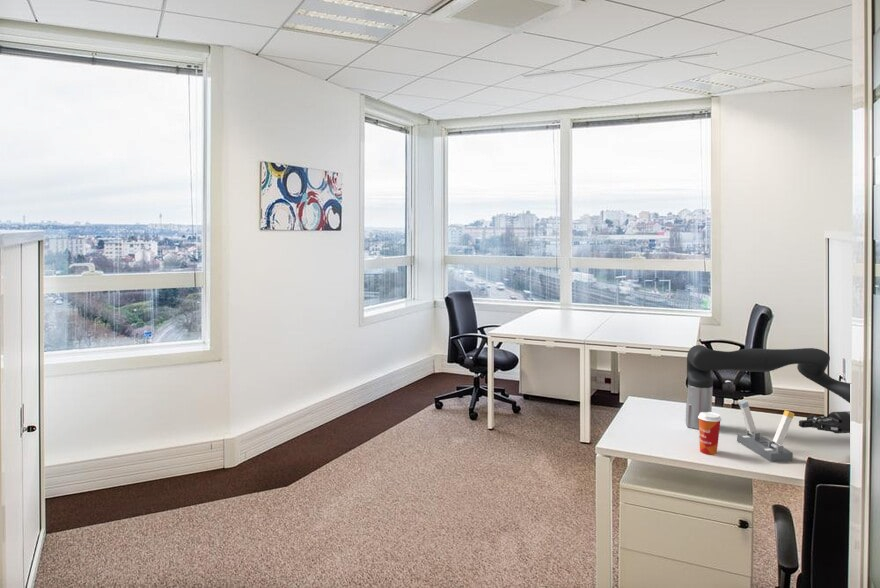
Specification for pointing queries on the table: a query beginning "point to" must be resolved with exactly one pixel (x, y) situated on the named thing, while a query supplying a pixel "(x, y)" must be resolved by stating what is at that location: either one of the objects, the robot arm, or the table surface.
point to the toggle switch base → (764, 447)
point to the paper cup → (709, 432)
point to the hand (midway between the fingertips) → (800, 424)
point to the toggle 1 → (747, 417)
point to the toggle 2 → (783, 428)
